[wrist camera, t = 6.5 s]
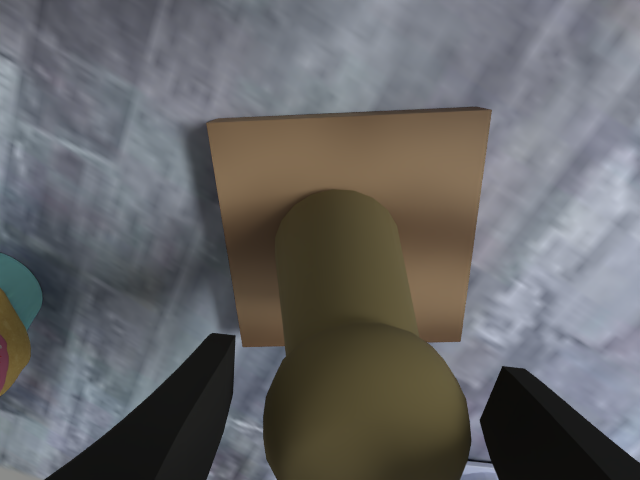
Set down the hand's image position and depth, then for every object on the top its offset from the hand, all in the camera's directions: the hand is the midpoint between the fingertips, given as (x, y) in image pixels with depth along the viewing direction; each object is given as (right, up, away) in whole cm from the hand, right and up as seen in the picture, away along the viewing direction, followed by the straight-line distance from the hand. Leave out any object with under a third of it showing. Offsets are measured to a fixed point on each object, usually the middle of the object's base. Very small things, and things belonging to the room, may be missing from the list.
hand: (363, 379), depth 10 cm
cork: (0, +3, +8) cm, 9 cm away
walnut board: (0, +4, +10) cm, 11 cm away
